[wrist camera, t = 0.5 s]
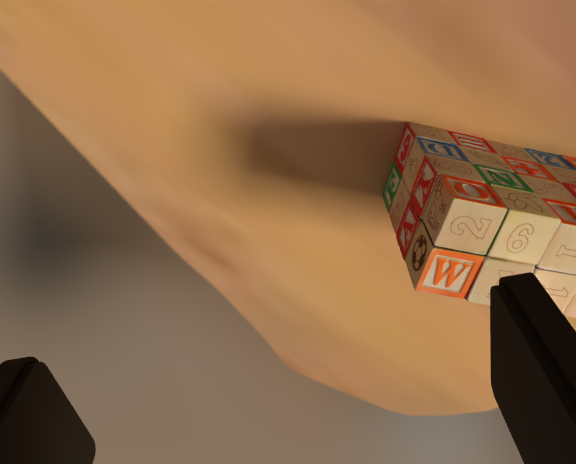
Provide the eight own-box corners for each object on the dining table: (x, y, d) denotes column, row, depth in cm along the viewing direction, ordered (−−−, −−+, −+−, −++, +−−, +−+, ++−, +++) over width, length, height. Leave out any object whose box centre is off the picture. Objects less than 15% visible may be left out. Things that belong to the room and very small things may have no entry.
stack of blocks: (670, 175, 39) (814, 268, 28) (626, 243, 42) (741, 349, 31) (404, 120, 36) (454, 198, 26) (378, 196, 40) (413, 293, 29)
